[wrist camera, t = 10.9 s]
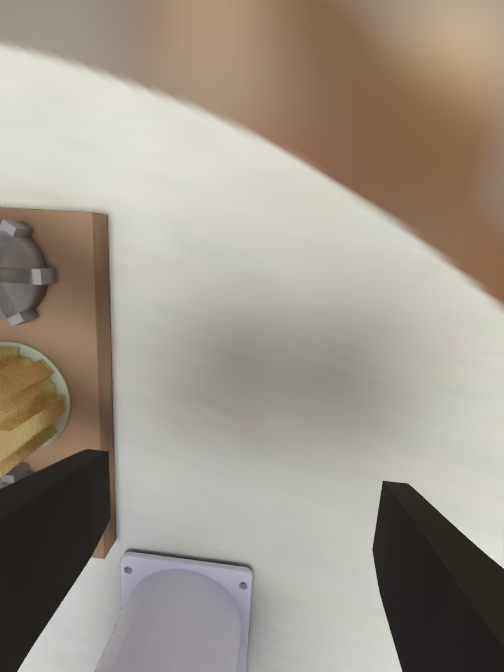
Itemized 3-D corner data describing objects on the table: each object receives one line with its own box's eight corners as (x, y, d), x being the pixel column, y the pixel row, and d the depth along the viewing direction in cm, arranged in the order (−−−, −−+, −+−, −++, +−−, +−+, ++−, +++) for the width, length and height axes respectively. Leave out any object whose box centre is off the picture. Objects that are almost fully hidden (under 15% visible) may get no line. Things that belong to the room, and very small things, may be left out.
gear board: (116, 539, 23) (67, 619, 18) (-22, 521, 24) (-104, 593, 19) (107, 215, 19) (40, 203, 14) (-60, 205, 20) (-180, 191, 15)
